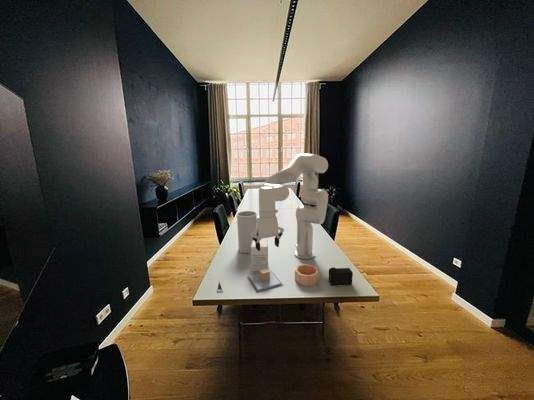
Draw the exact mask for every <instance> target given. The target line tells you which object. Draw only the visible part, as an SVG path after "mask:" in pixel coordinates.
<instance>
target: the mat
mask: <svg viewBox="0 0 534 400" xmlns="http://www.w3.org/2000/svg"><path fill="white" fill-rule="evenodd" d="M270 271H271V272H272V273H273V274H274V275H275V273H274V272H273V271H272V270H270ZM275 277H276V278H277V279H278V280H279V281H280V279H279V278H278V277H277V276H276V275H275ZM246 279H247V280H248V281H249V283H250V285H251V286H252V288H253V290H254V291H255V293H256V294H259V293H262V292H265V291H269V290H272V289H277V288H279V287H280V288H281V287H283V286H285V285H284V284H283V283H282V282H281V281H280V283H281V285H279V286H275V287H272V288H268V289H264V290H261V291H257V289H256V288H255V286H254V284H253V283H252V281H251V279H250V276H248V277H246Z"/></svg>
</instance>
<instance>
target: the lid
mask: <svg viewBox="0 0 534 400" xmlns="http://www.w3.org/2000/svg"><path fill="white" fill-rule="evenodd" d="M271 271H272V270H269V268H268V269H267V268H264V269H259V271H258V272H259V273H257V274H254V275H253V274H252V275H250V276H249V277H250V279H251V281H252V283H253V284H254V286H255V288H256V289H257V291H261V290H264V289H268V288H272V287H275V286H279V285H281V283H282V282H281V281H280V279H279V278H278V277H277V276H276V275H275V273H274V272H273V271H272V272H273V273H274V274H273V273H272V272H271ZM275 276H276V277H277V278H278V279H279V280H278V279H277V278H276V277H275ZM280 282H281V283H280Z"/></svg>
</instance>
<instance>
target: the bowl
mask: <svg viewBox="0 0 534 400" xmlns="http://www.w3.org/2000/svg"><path fill="white" fill-rule="evenodd" d="M294 280H295V281H296V283H297V284H299V285H302V286H306V287H308V286H311V287H312V286H316V285H317V284H318V282H319V281H318V280H319V269H318V268H317V267H316V266H315V265H313V264H307V263H303V264H298V265H297V266H296V267H295V269H294Z"/></svg>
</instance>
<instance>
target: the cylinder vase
mask: <svg viewBox="0 0 534 400" xmlns="http://www.w3.org/2000/svg"><path fill="white" fill-rule="evenodd" d="M257 217H258V215H257V212H256V211H252V210H243V211H240V212H238V213H237V214H236V219H237V221H236V222H237V239H238V240H237V241H238V251H239V252H240V253H242V254H251V245H252V241H253V239H252V238H251V236H250V233H252V232H253V231H255V230H256V222H257ZM254 237H255V238H256V237H257V235H256V234H255V235H254Z"/></svg>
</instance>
